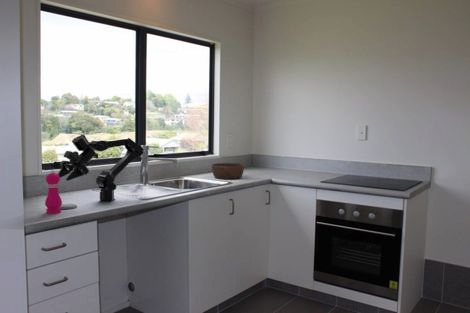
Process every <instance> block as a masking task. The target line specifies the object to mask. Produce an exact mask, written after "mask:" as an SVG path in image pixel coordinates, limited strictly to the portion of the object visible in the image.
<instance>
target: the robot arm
mask: <svg viewBox="0 0 470 313" xmlns="http://www.w3.org/2000/svg"><path fill="white" fill-rule="evenodd" d="M71 143H72V145H74V147H75V148H76V149H77V150H75V151H71V150H65V152H64V153H63V157H64V158H66V159H68V160H69V161H68V160H62V161H60V162H59V166H60V170H58V173H57V174H58V175H59V177H60V179H61V178H62V177H65V176H67V175H68V176H67V177H66V178H65V179H66V180H65V181H67V182H68V181H71V180H73V179H76V178H80V177H83V176H87V175H88V174H89V172H90V169H89V168H88V167H87V166H88V165H89V162H90V161H92V160H93V159H95V160H96V159H99V153H97V152H103V151H107V150H108V149H111V148H116V147H122V146H123V147H124V148H125V149H126V152H125V155H124V156H123V157H122V158H121V159H120V160H119V161H118V162H117V163H115V164H114V165H113V167H111V168H110V169H109V170H106V171H104V170H102V171H101V172H100V174H97V177H96V179H95V183H96V185H97V187H98V189H99V190H100V192H99V202H109V203H110V202H114V201H115V200H116V198H115V191H116V189H117V185H116V184H115V183H114V182H115V179H116V177H118V175H119V174H120V173H122V171H124V169H125V168H126V167H127V166H128V165H130V164H131V163H132V162H133V161H134V160H136V159H138V158H140V157H142V156H143V154H144V148H143V146H142V145H140V144H138V143H137V142H135V141H134V140H133V139H132V138H130V137H123V138H117V139H116V138H115V139H110V140H101V139H99V140H98V139H93V140H91V141H89V140H88V139H87V138H86V136H85V134H80V135H78V136H77V137H74V138H73V139H72V140H71ZM78 151H79V152H80V151H81V152H80V154H79V152H78Z"/></svg>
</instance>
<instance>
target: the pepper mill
mask: <svg viewBox="0 0 470 313" xmlns="http://www.w3.org/2000/svg"><path fill="white" fill-rule="evenodd" d="M45 181H46V183H47V184H46V185H47V186H46V187H47V188H48V189H47V190H48V192H47V196H46V198H45V202H44V206H45V207H46V209H45V210H46V211H45V212H46V214H47V215H56V214H57V215H58V214H60V213H61V212H62V210H61V208H60V206H61V205H62V204H63V200H62V198H61V196H60V192H59V187H60V185H59V184H60V183H59V182H60V181H61V178H60V177H59V175H58V173H56V170H54V169H52V170H50V173H48V174H47V175H46V177H45Z"/></svg>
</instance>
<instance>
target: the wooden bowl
mask: <svg viewBox="0 0 470 313" xmlns="http://www.w3.org/2000/svg"><path fill="white" fill-rule="evenodd" d="M211 169H212V174H213V177H214V178H215V179H218V180H238V178H239V179H241V178H242V177H243V175H244V169H245V164H242V163H233V162H219V163H212V164H211Z"/></svg>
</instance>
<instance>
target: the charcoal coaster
mask: <svg viewBox="0 0 470 313" xmlns="http://www.w3.org/2000/svg"><path fill="white" fill-rule="evenodd" d="M77 207H78V206H77V204H75V203H62V205H61V206H60V208H61V211H66V210H74V209H77Z"/></svg>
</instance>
